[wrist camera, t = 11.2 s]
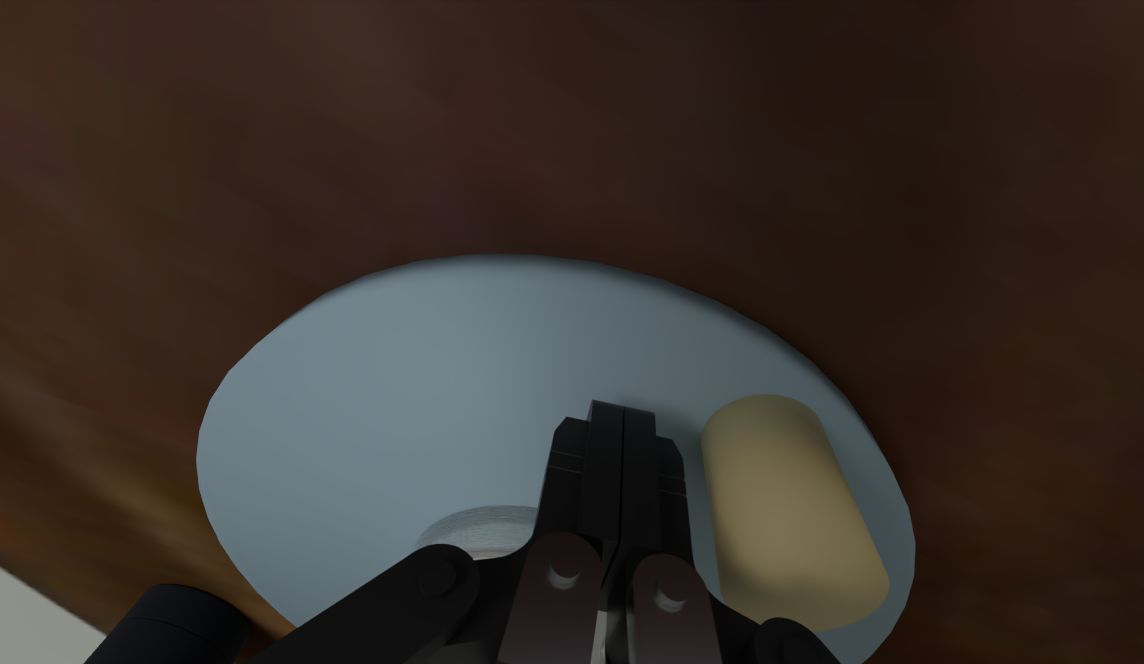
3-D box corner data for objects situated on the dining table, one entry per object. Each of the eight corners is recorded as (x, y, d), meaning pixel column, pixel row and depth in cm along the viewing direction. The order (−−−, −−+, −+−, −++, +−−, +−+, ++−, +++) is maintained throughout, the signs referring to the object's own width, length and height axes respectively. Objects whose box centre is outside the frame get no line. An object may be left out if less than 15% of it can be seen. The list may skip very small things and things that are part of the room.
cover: (508, 462, 14) (467, 597, 11) (717, 603, 17) (735, 748, 14) (367, 575, 19) (307, 698, 15) (550, 675, 21) (532, 799, 18)
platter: (423, 25, 10) (236, 33, 5) (1052, 569, 16) (1216, 790, 12) (160, 531, 22) (29, 670, 17) (585, 737, 28) (573, 881, 23)
